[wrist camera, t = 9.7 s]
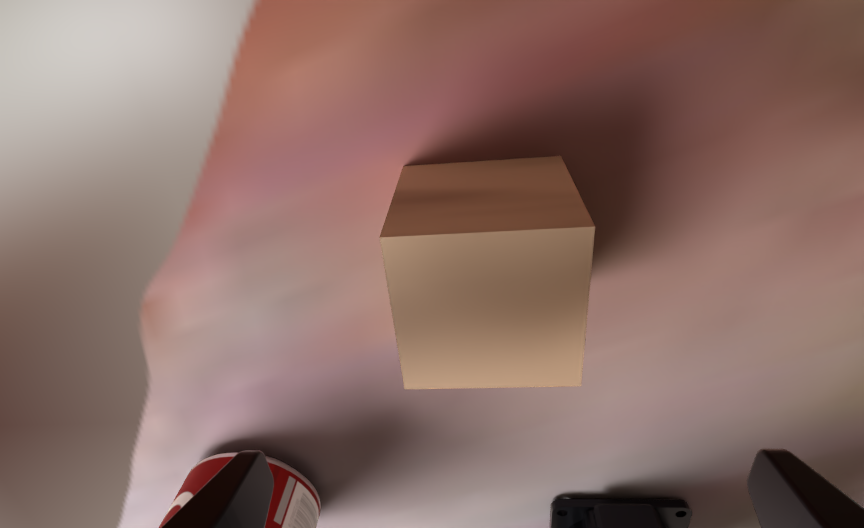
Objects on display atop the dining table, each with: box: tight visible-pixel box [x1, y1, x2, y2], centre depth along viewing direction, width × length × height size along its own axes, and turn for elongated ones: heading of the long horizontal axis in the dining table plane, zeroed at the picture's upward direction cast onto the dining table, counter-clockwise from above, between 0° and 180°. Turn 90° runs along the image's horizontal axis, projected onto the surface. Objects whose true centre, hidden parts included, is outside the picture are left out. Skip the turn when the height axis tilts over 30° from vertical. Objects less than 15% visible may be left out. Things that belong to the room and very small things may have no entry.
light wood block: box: [380, 156, 595, 389], centre depth 15 cm, size 5×5×5 cm
